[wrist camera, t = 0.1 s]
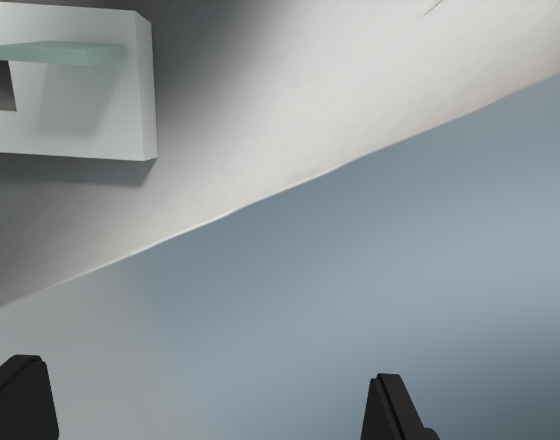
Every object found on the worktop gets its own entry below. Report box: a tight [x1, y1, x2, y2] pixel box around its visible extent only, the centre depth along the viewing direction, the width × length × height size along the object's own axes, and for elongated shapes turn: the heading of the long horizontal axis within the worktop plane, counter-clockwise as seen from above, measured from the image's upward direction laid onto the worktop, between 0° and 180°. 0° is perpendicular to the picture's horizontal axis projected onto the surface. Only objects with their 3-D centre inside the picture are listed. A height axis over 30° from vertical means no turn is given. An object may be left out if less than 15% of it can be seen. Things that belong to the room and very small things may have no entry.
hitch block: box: [0, 2, 158, 161], centre depth 34 cm, size 14×20×4 cm
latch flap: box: [0, 40, 127, 66], centre depth 28 cm, size 7×7×1 cm
